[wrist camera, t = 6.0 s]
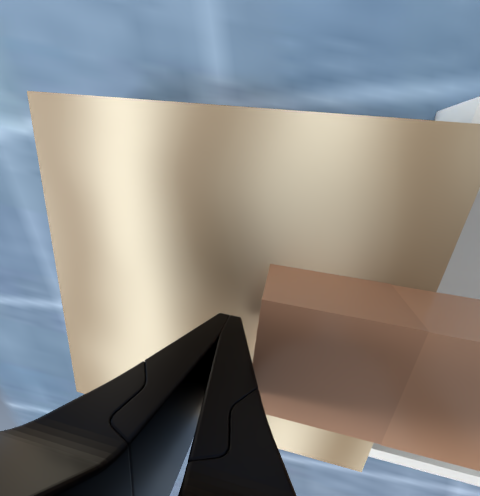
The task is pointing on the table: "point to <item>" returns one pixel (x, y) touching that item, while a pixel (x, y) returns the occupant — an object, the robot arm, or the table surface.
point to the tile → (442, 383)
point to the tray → (454, 283)
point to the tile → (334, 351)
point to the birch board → (235, 219)
